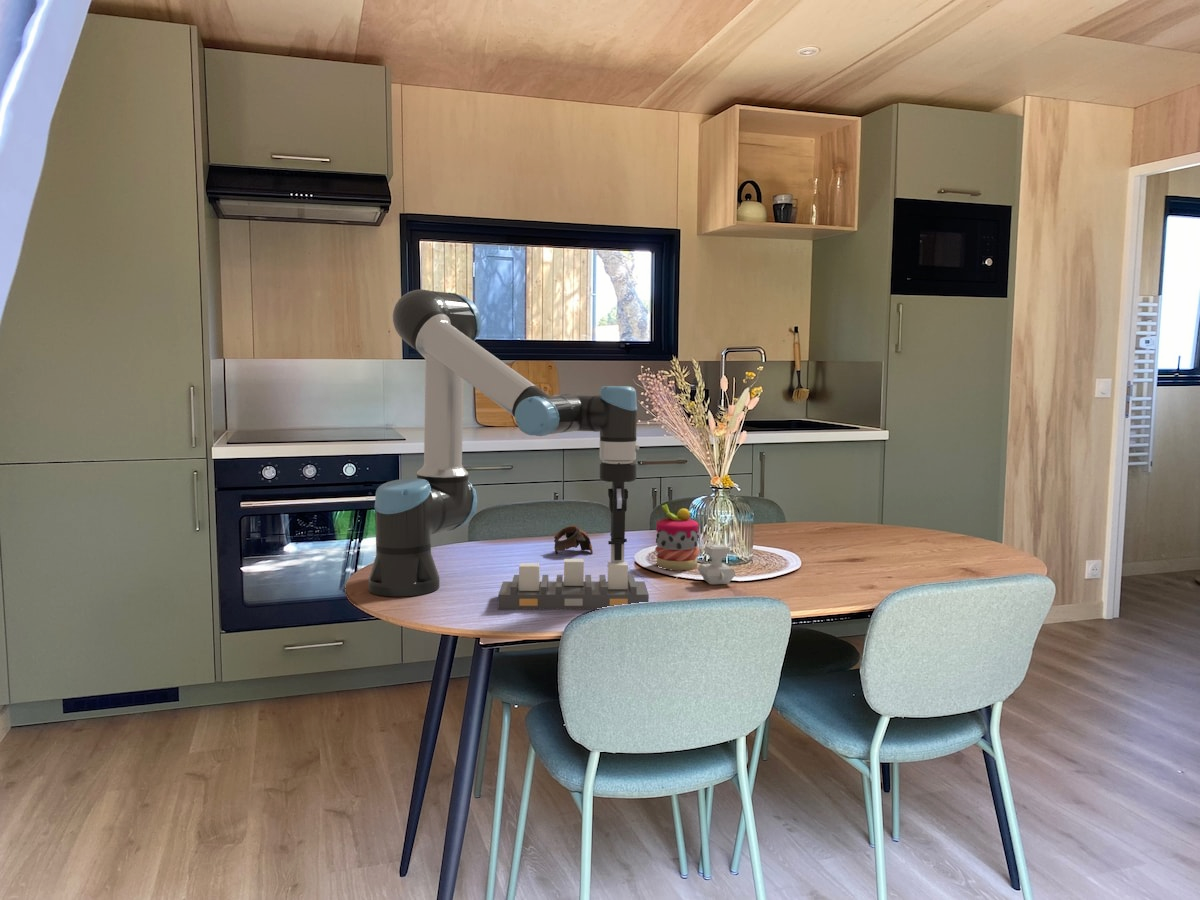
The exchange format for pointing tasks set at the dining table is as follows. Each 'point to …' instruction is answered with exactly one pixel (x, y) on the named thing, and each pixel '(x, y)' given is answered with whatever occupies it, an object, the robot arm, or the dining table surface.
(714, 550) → the grey angular blocky piece
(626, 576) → the tab right
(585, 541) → the brown broken ring
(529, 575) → the tab left
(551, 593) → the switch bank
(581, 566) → the tab middle
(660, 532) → the cake
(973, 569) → the dining table surface
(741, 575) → the dining table surface
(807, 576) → the dining table surface
